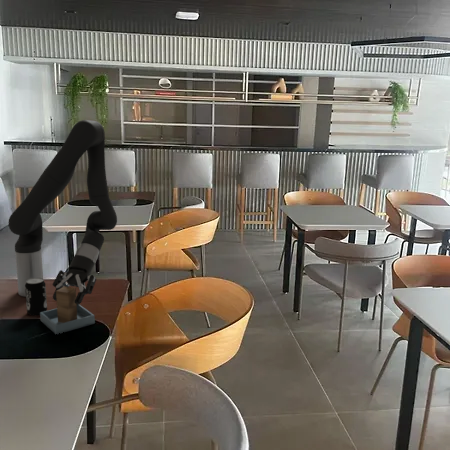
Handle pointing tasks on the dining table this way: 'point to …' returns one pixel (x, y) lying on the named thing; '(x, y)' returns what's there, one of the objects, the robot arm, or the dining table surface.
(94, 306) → the dining table surface
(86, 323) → the box
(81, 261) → the robot arm
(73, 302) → the wooden block
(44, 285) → the beverage can
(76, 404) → the dining table surface
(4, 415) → the dining table surface
